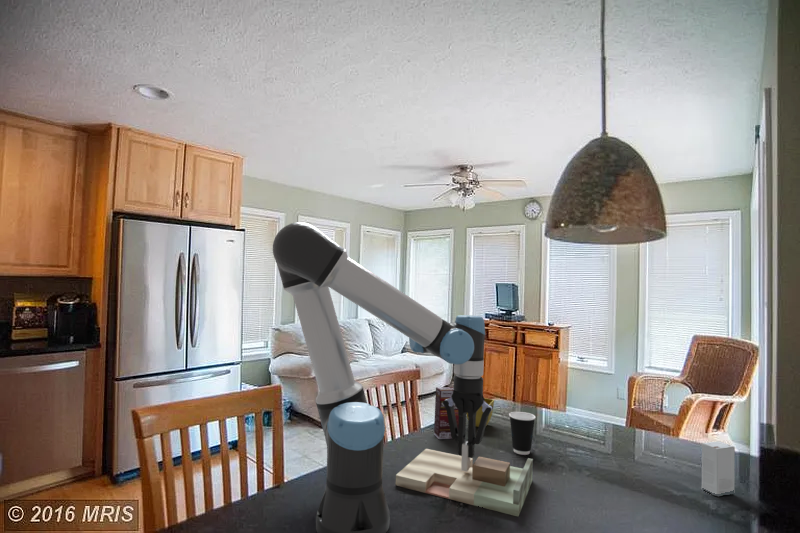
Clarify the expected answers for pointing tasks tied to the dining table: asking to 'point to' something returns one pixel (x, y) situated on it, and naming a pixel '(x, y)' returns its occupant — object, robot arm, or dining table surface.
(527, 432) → the dixie cup
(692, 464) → the dining table surface
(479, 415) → the flower pot
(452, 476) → the platform
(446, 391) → the supplement box
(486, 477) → the walnut block
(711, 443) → the skincare box
